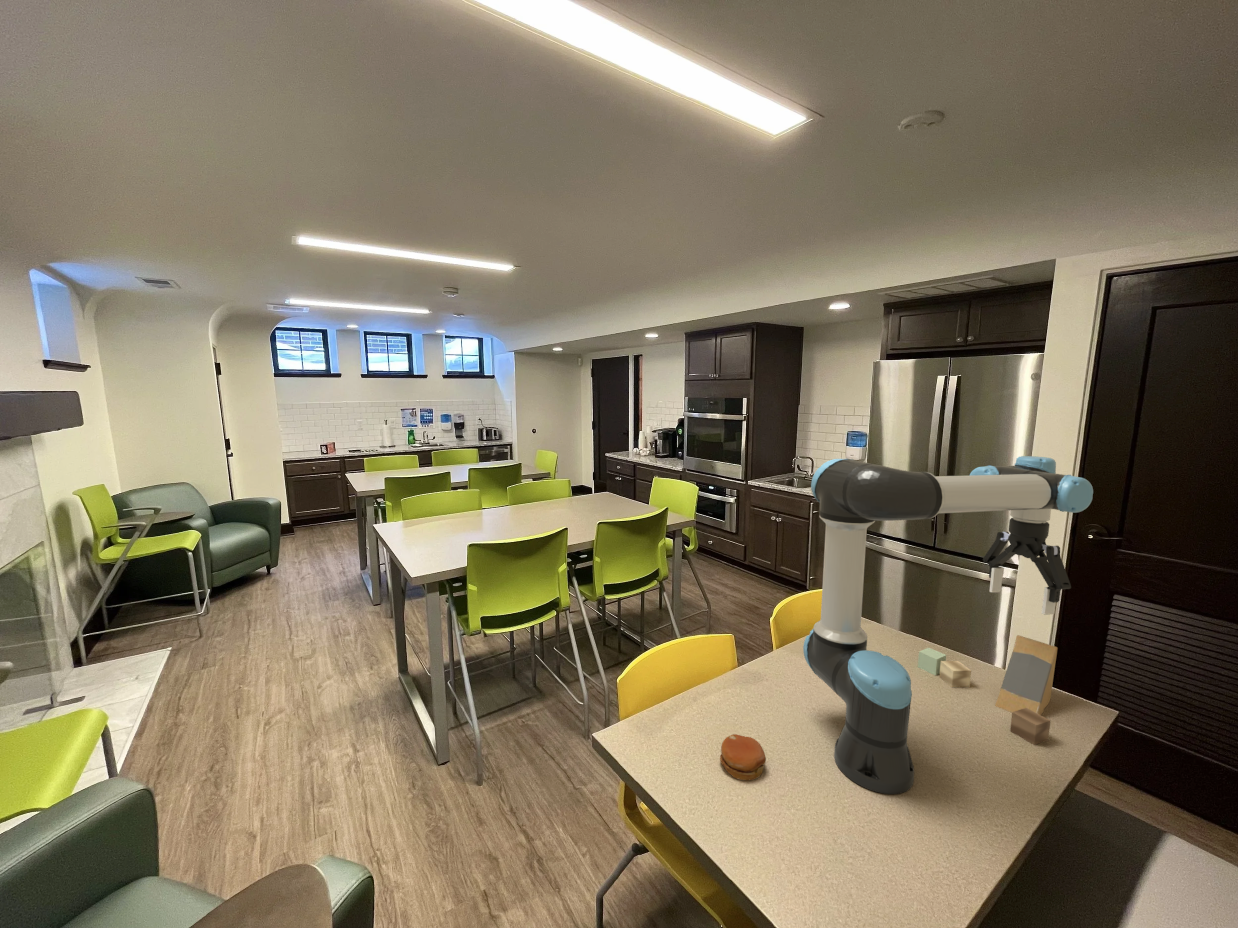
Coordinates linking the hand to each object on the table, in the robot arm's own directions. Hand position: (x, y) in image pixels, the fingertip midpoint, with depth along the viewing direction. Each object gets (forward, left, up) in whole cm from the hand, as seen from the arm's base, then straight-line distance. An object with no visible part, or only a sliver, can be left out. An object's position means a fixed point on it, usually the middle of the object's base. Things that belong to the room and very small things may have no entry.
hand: (1020, 602), depth 122 cm
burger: (-76, -8, -28) cm, 82 cm away
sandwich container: (+5, +1, -28) cm, 29 cm away
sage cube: (-6, +19, -28) cm, 34 cm away
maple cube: (-5, +12, -28) cm, 31 cm away
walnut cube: (-6, -10, -28) cm, 31 cm away
